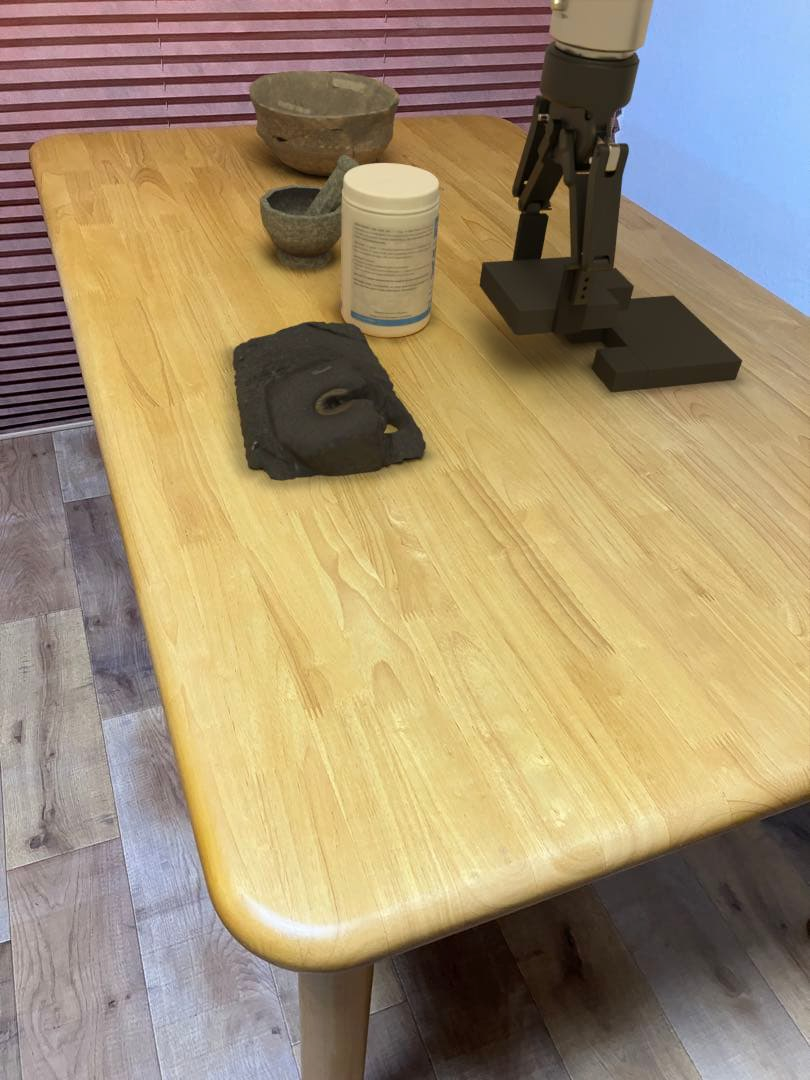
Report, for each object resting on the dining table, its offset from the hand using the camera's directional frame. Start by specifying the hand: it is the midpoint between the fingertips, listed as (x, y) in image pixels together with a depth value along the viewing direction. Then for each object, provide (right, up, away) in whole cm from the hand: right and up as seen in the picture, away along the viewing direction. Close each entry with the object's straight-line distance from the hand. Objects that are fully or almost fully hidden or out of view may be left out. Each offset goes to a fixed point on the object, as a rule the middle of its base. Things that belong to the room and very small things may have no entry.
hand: (543, 304), depth 84 cm
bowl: (-25, +31, +41) cm, 57 cm away
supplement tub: (-16, +1, +9) cm, 18 cm away
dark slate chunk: (-21, -11, -4) cm, 24 cm away
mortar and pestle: (-24, +10, +18) cm, 32 cm away
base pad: (+11, -3, +7) cm, 14 cm away
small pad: (+2, 0, +1) cm, 2 cm away
